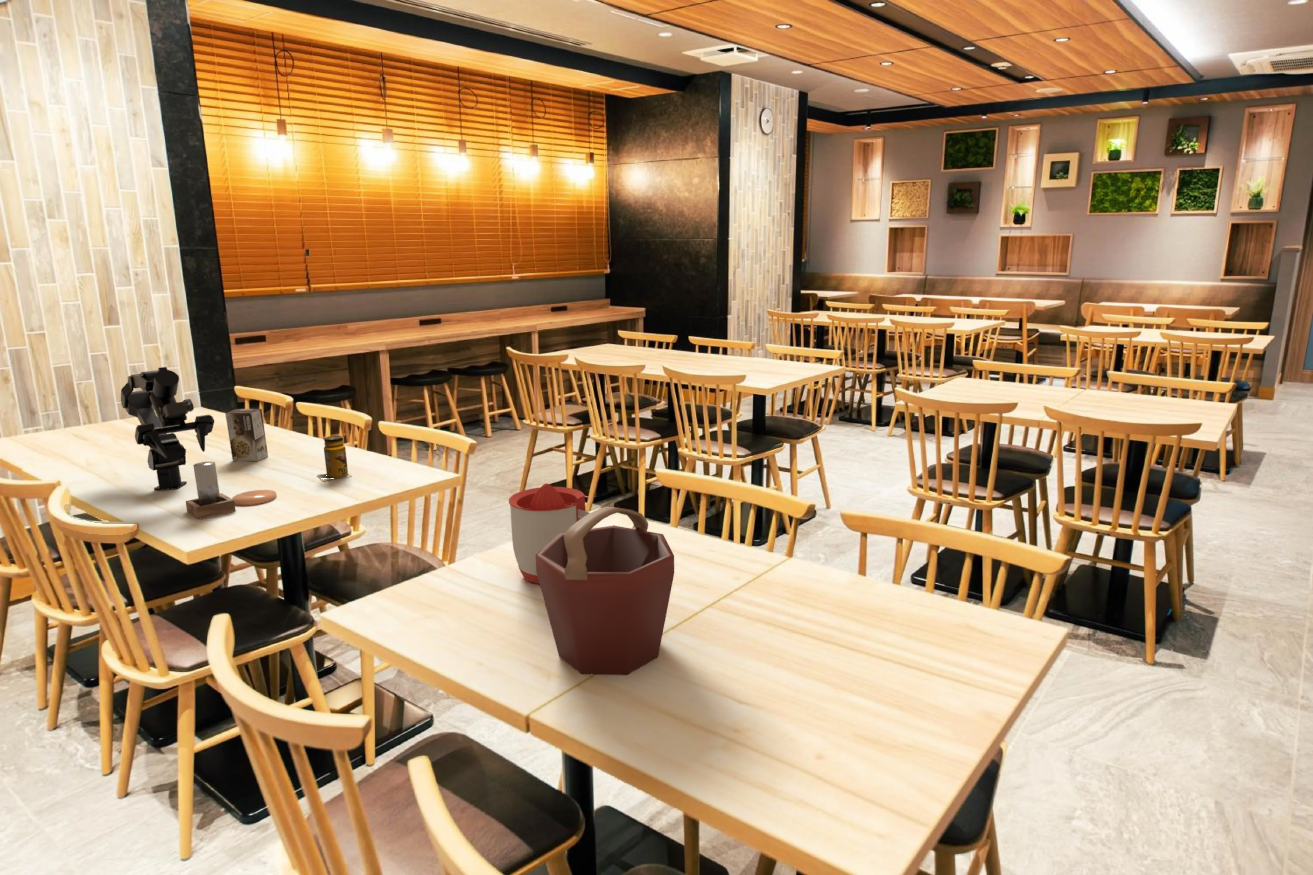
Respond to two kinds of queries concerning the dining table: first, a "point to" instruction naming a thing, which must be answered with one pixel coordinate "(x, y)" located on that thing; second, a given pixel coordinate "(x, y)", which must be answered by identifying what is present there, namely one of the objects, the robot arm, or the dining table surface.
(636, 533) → the bucket
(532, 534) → the citrus juicer
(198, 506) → the pocket block
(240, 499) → the coaster
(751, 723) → the dining table surface
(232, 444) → the coffee box
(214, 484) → the peg
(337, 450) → the condiment
